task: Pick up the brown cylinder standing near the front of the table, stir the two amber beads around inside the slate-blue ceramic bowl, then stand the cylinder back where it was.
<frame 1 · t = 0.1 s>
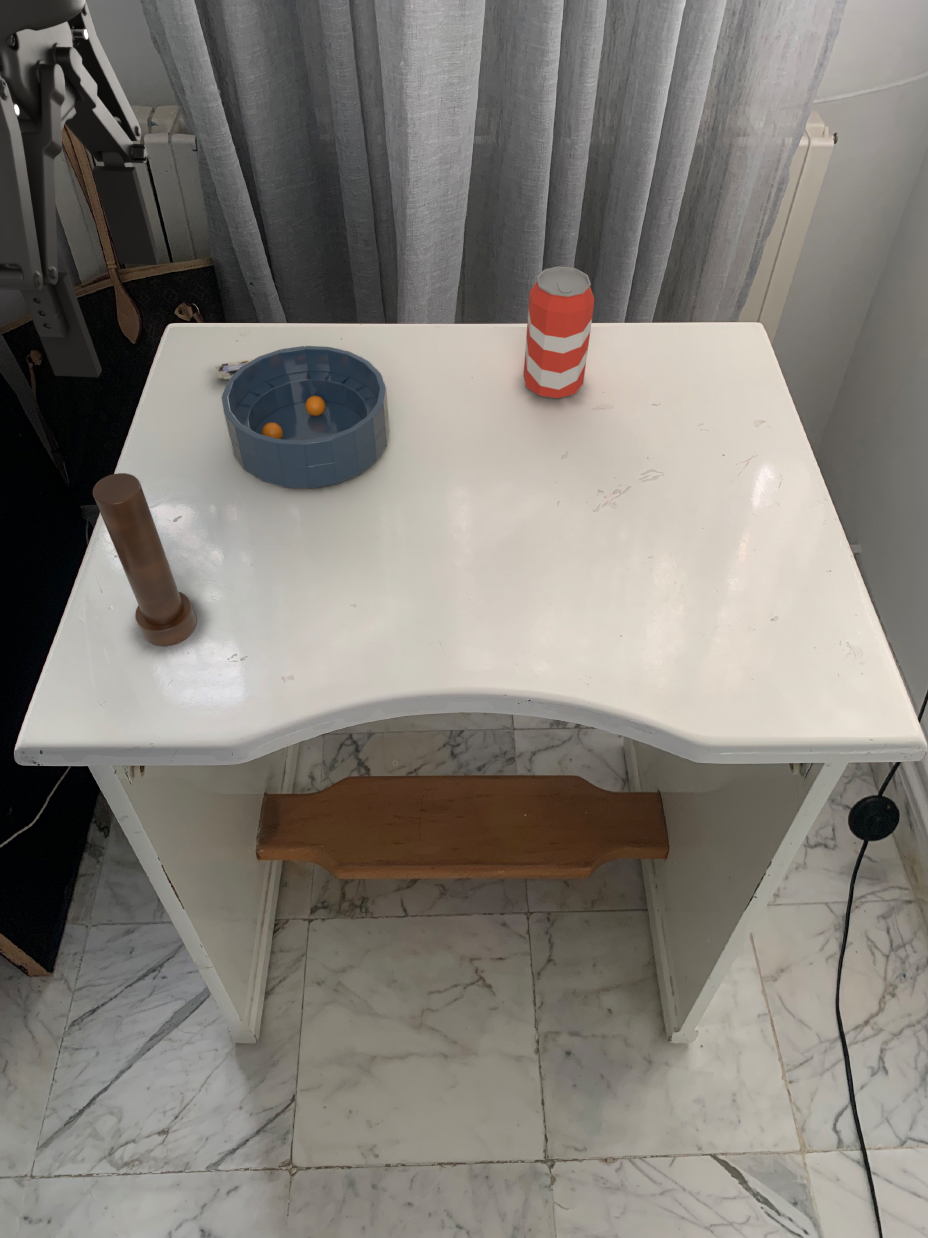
hand: (111, 313, 60), 24 cm above the table, tool pointing down, fingers open, 13 cm apart
bead a: (315, 405, 89), point 2 cm above the table, touching bowl
bead b: (272, 432, 86), point 2 cm above the table, touching bowl
granola bar: (248, 373, 96), on the table
bowl: (312, 442, 88), on the table
brown cylinder: (169, 625, 73), on the table
beverage can: (552, 386, 95), on the table
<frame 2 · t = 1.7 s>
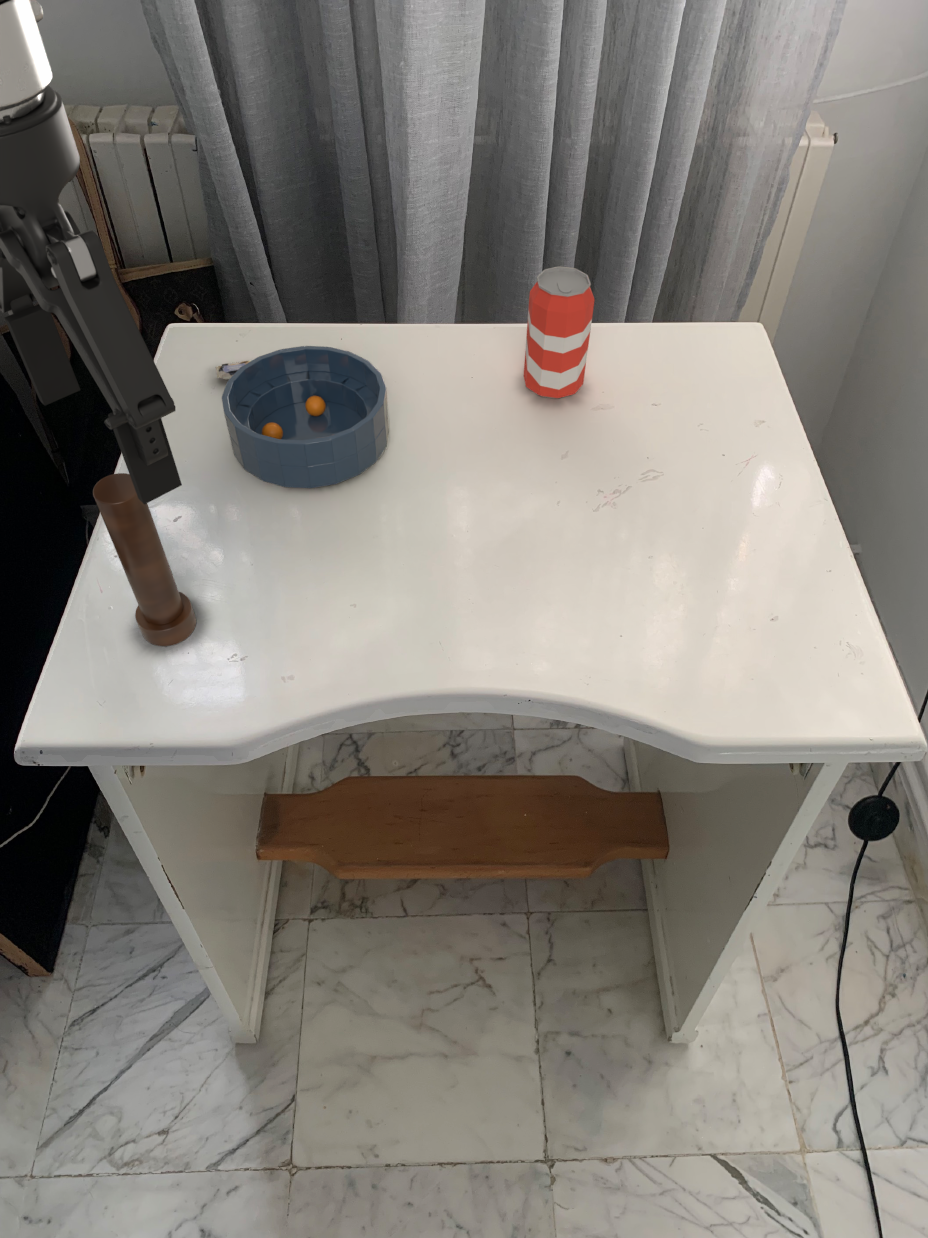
hand: (107, 441, 60), 18 cm above the table, tool pointing down, fingers open, 13 cm apart
nothing on the table moved.
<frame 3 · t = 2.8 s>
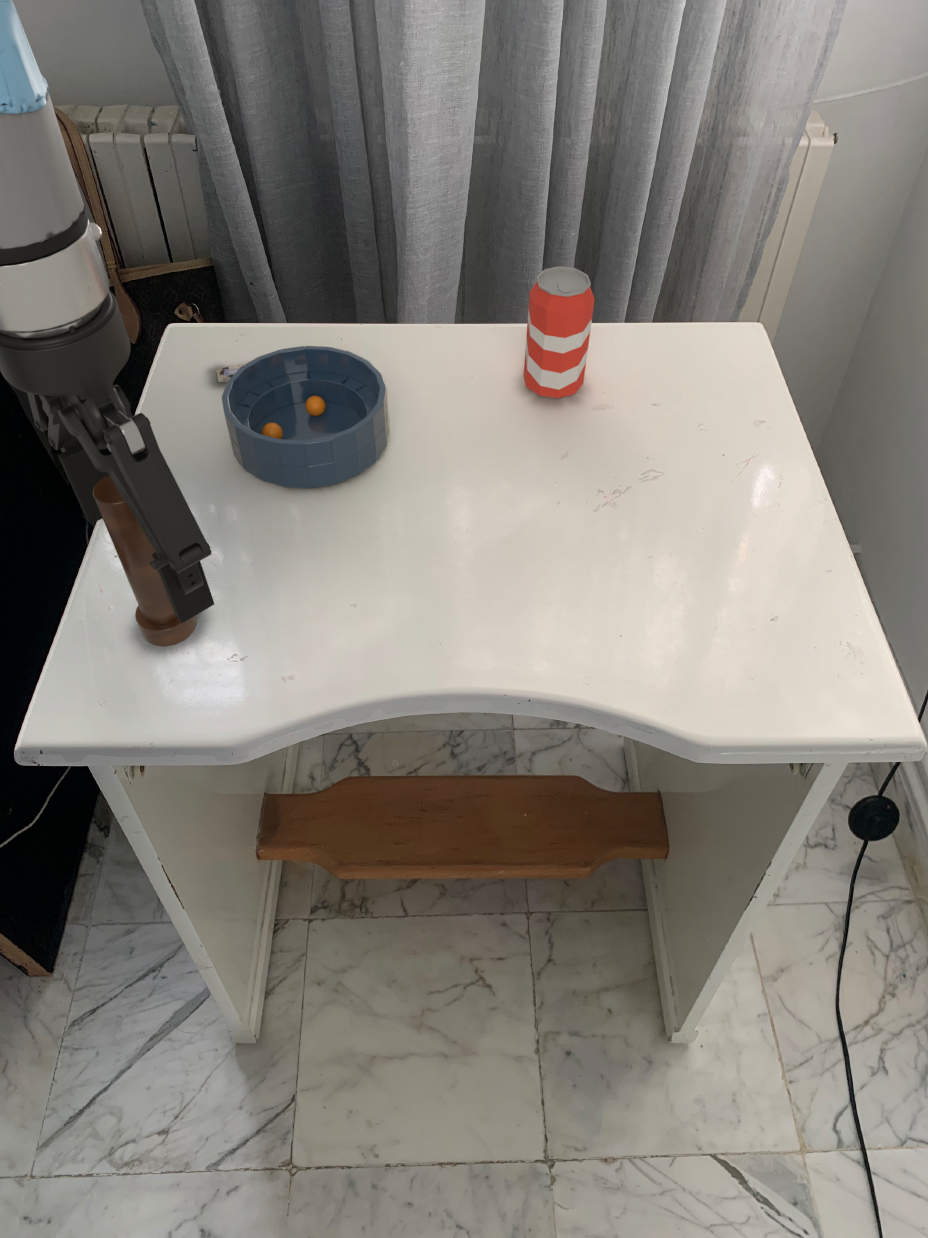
hand: (148, 560, 67), 8 cm above the table, tool pointing down, fingers open, 13 cm apart
nothing on the table moved.
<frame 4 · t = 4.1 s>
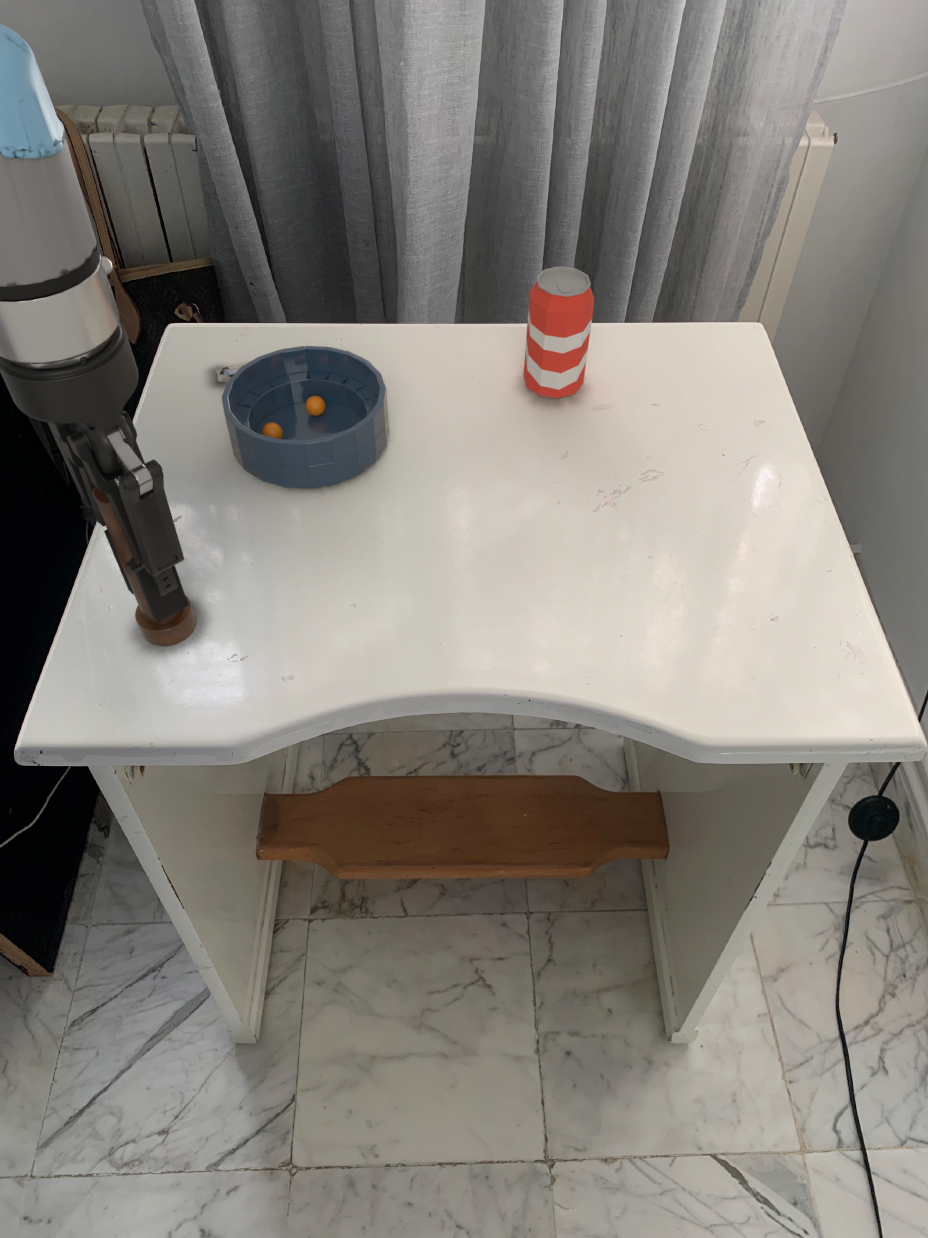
hand: (158, 596, 70), 4 cm above the table, tool pointing down, fingers closed on brown cylinder, 3 cm apart
brown cylinder: (169, 625, 73), on the table, touching gripper
everything else where it was.
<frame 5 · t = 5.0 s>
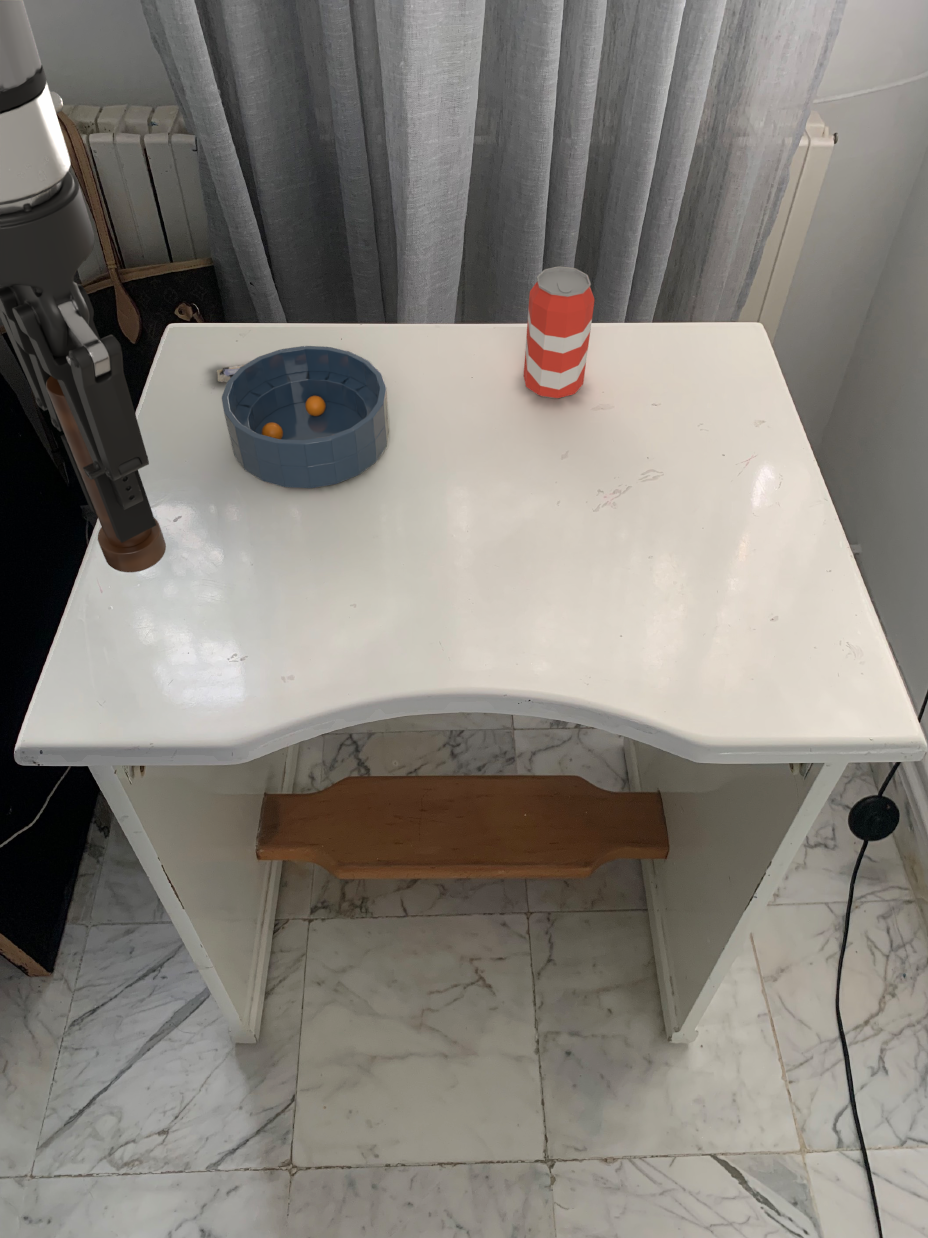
hand: (122, 516, 64), 12 cm above the table, tool pointing down, fingers closed on brown cylinder, 3 cm apart
brown cylinder: (135, 551, 66), point 9 cm above the table, touching gripper
everything else where it was.
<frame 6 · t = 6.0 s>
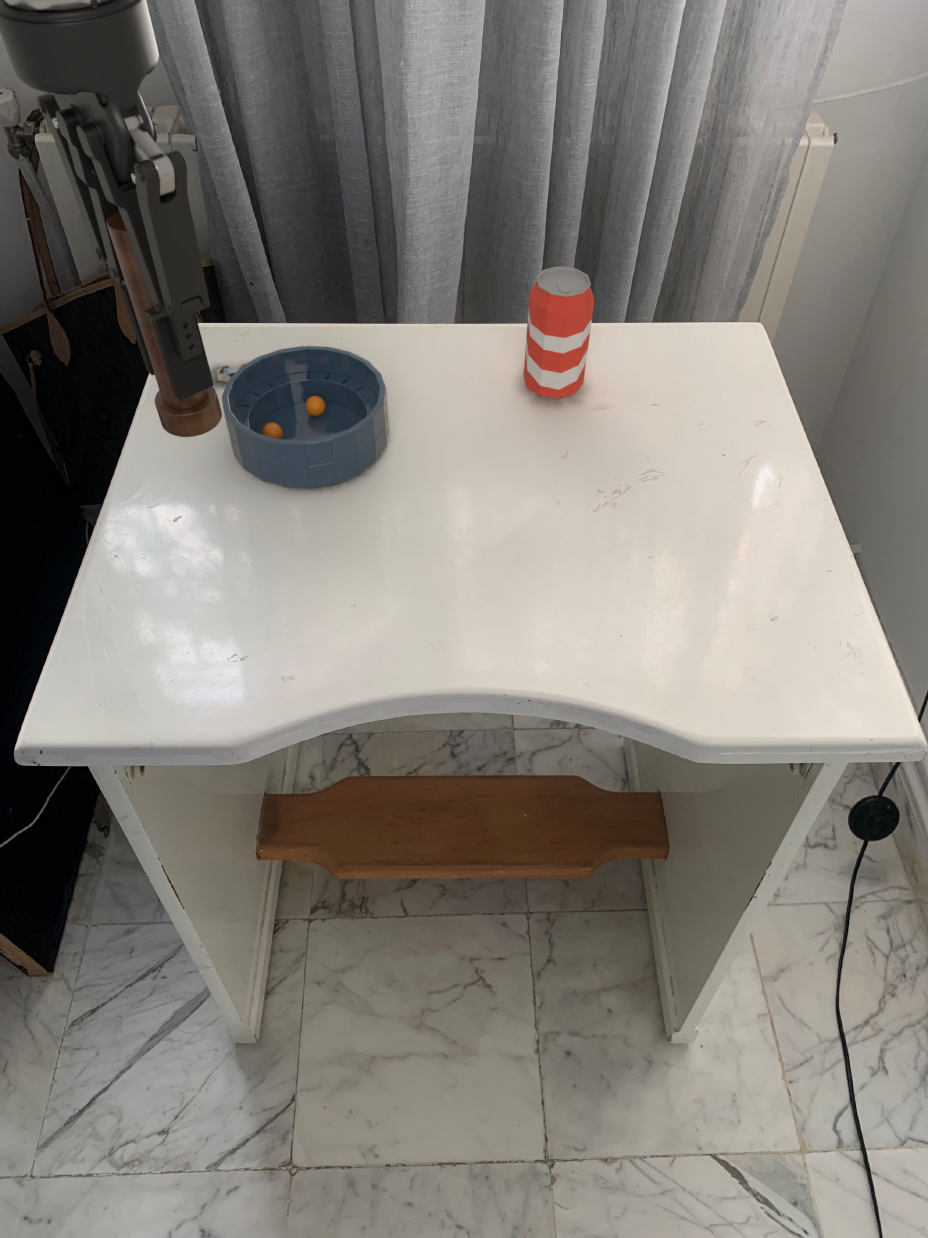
hand: (180, 377, 63), 19 cm above the table, tool pointing down, fingers closed on brown cylinder, 3 cm apart
brown cylinder: (192, 418, 66), point 16 cm above the table, touching gripper
everything else where it was.
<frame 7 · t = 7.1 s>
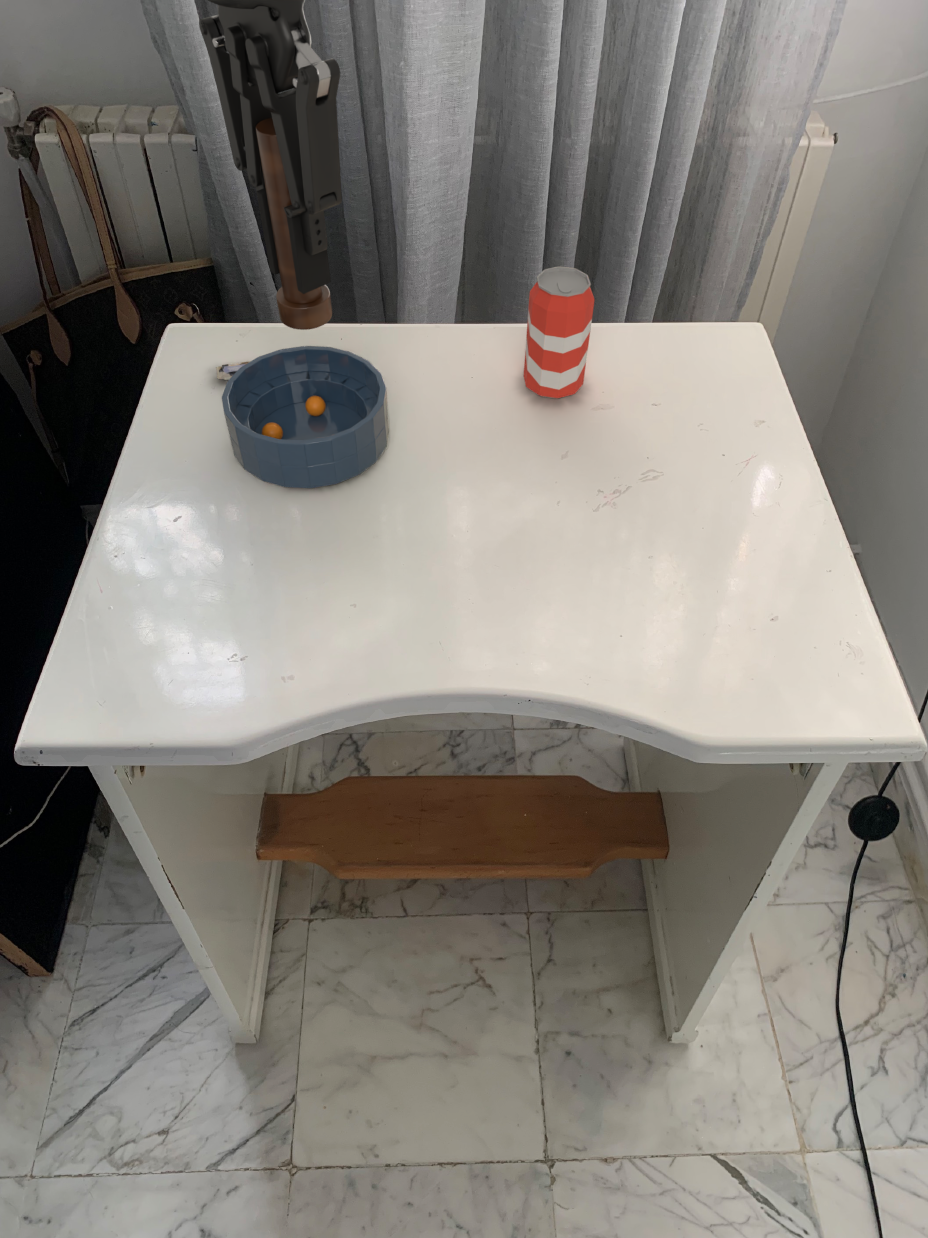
hand: (300, 276, 72), 19 cm above the table, tool pointing down, fingers closed on brown cylinder, 3 cm apart
brown cylinder: (306, 315, 75), point 15 cm above the table, touching gripper
everything else where it was.
when the fingers open (3 cm above the table, at t = 18.6 s): brown cylinder stays where it is, on the table.
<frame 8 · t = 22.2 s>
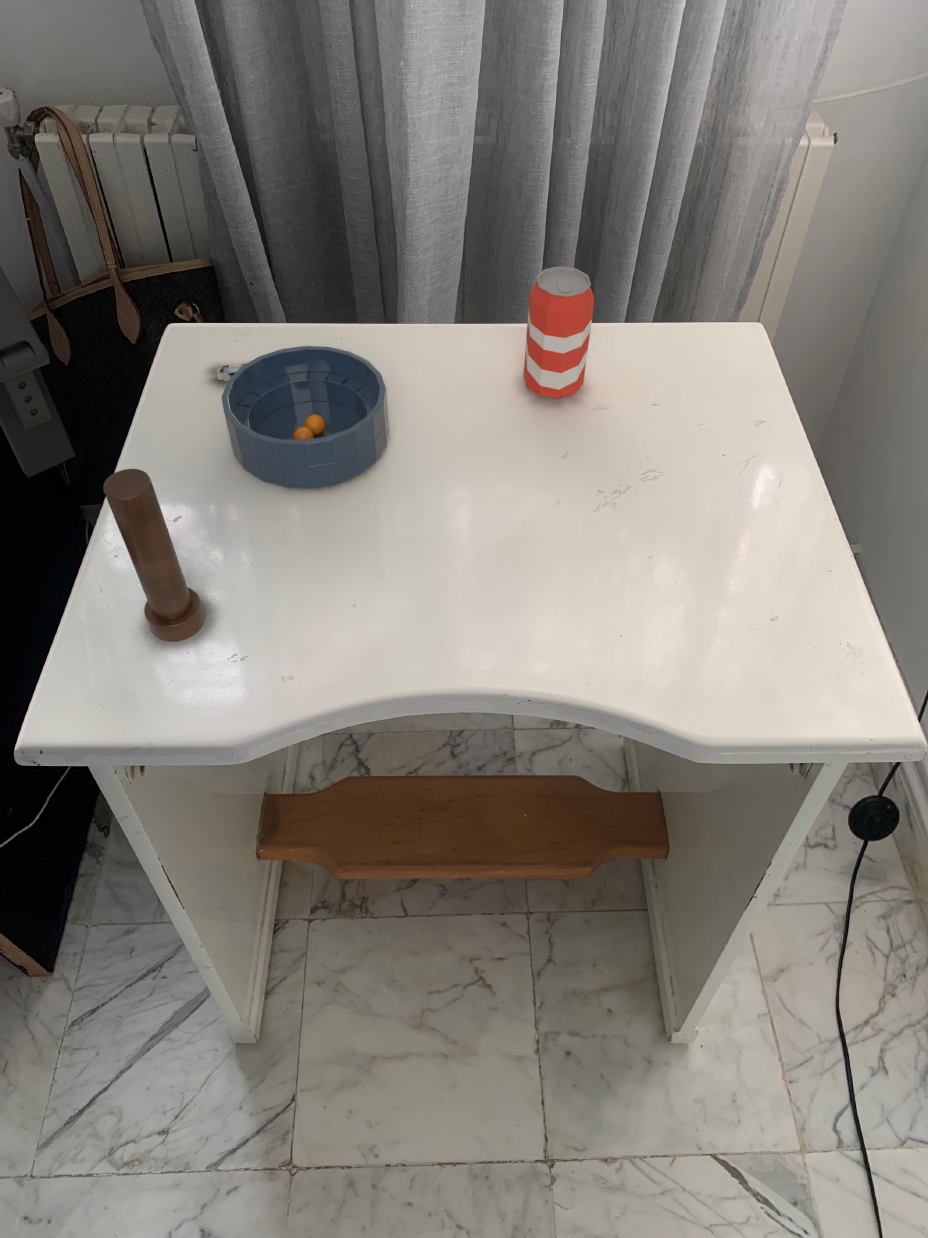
bead a: (315, 424, 87), point 2 cm above the table, tilted 84°, touching bowl
bead b: (303, 437, 86), point 2 cm above the table, tilted 161°, touching bowl
brown cylinder: (177, 621, 73), on the table
everything else where it was.
at the end: bead a moved 3.0 cm from its start; bead a inside the target area in the bowl (0.7 cm from its centre), point 1.8 cm above the bowl's base; brown cylinder inside the target area (0.8 cm from its centre), on the table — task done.
